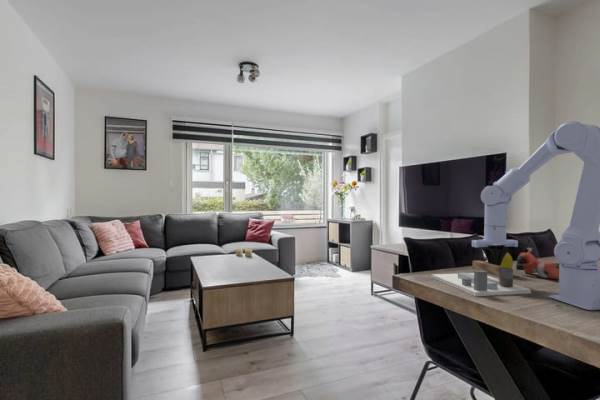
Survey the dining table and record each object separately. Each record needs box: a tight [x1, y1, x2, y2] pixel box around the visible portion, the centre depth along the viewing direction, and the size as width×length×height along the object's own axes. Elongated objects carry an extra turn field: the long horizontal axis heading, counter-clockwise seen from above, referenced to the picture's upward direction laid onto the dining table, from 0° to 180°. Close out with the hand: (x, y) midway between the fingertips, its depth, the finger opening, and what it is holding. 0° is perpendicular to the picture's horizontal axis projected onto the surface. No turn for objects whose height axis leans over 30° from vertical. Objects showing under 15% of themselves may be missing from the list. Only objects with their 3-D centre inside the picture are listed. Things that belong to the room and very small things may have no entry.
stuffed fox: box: [515, 247, 559, 280], centre depth 104 cm, size 8×11×12 cm
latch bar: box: [472, 260, 514, 287], centre depth 93 cm, size 13×3×4 cm, turn 10°
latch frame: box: [431, 270, 532, 297], centre depth 92 cm, size 19×17×6 cm
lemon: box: [500, 252, 514, 269], centre depth 106 cm, size 6×6×8 cm
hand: (494, 270), depth 96 cm, fingers closed
